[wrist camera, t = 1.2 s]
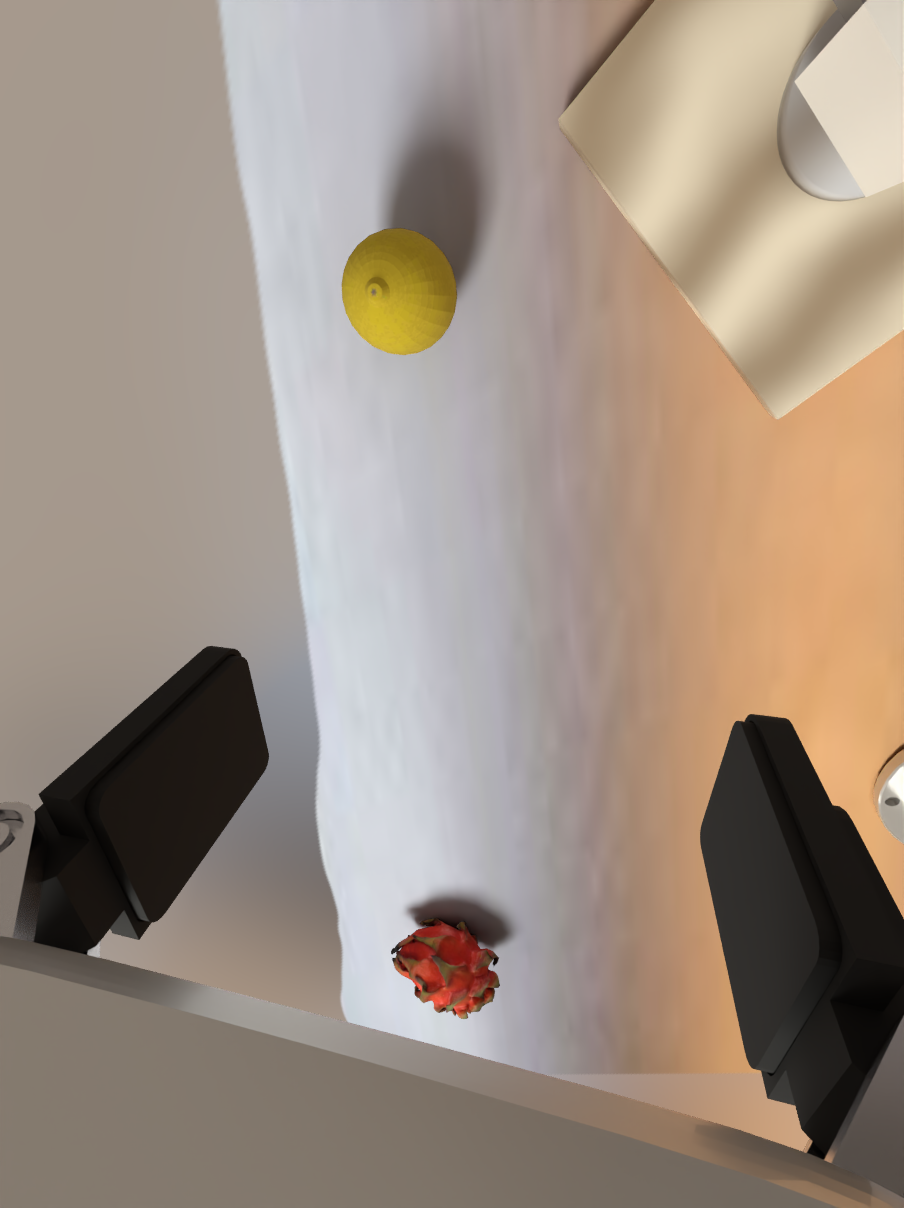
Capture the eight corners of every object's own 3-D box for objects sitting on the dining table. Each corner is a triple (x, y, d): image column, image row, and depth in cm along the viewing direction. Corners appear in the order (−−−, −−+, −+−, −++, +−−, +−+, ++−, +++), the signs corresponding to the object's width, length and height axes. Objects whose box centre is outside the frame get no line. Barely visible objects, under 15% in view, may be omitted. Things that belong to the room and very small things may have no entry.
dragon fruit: (514, 936, 60) (417, 896, 64) (508, 945, 53) (398, 899, 56) (492, 1024, 57) (391, 977, 61) (482, 1047, 50) (367, 992, 53)
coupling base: (1215, 90, 21) (1337, 47, 18) (769, 415, 30) (793, 428, 26) (997, -406, 17) (1097, -582, 14) (559, 128, 26) (555, 100, 22)
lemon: (399, 218, 29) (340, 188, 22) (487, 271, 29) (456, 259, 22) (362, 320, 32) (300, 322, 25) (442, 368, 32) (403, 383, 25)
